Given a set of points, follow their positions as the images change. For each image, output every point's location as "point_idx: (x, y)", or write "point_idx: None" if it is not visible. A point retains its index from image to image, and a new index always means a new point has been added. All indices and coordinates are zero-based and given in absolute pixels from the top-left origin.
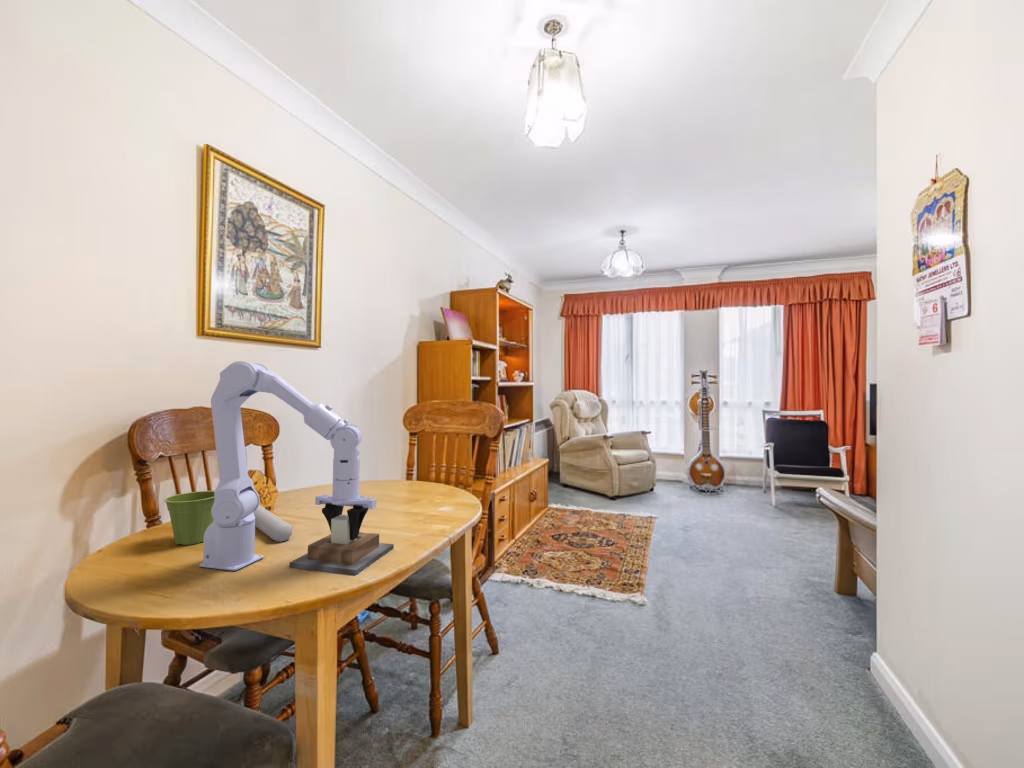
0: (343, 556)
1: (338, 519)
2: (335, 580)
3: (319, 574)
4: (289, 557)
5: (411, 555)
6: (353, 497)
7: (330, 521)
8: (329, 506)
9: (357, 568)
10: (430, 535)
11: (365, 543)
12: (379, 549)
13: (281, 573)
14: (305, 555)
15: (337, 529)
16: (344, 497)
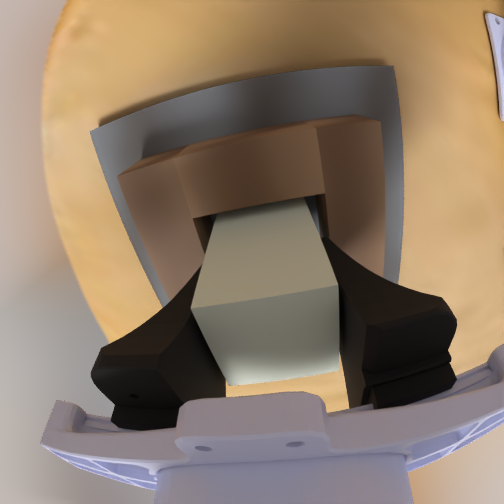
0: (171, 153)
1: (274, 300)
2: (121, 60)
3: (217, 57)
4: (447, 145)
5: (104, 311)
6: (155, 491)
7: (352, 280)
8: (414, 374)
9: (96, 143)
10: None
11: (158, 269)
12: None
13: (361, 14)
14: (393, 145)
15: (272, 251)
16: (181, 497)
